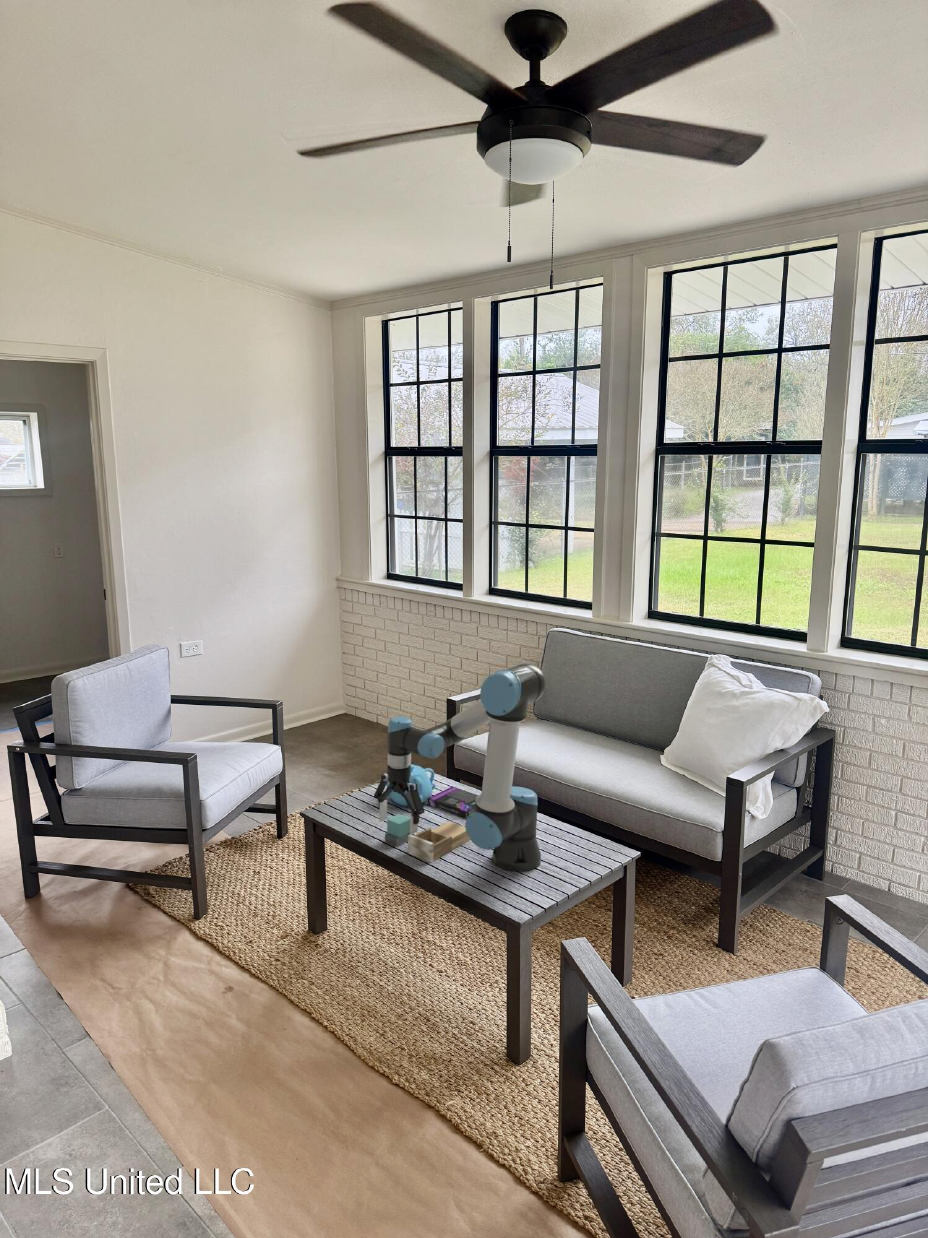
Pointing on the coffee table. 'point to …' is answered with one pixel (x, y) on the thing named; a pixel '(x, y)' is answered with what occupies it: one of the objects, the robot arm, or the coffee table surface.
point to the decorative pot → (422, 784)
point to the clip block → (398, 825)
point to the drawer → (437, 841)
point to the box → (454, 801)
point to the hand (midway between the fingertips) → (398, 826)
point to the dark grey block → (396, 839)
